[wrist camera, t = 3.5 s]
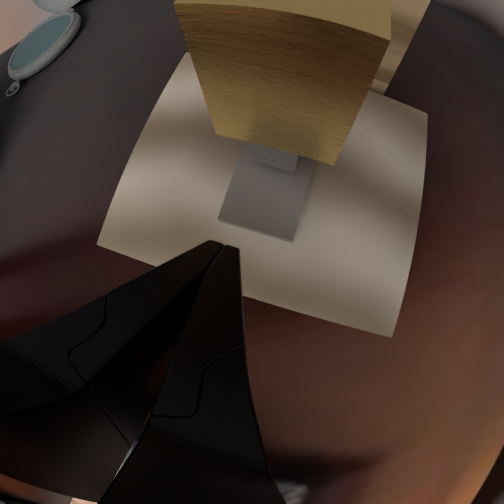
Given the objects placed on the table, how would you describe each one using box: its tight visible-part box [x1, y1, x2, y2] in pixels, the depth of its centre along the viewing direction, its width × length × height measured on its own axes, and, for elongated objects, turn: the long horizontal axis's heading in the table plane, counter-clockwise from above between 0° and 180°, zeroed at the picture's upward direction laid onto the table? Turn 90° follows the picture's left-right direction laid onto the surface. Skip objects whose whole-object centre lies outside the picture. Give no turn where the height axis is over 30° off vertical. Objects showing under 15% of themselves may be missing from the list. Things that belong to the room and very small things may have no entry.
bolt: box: [173, 0, 391, 173], centre depth 10 cm, size 7×5×9 cm
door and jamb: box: [97, 0, 430, 338], centre depth 12 cm, size 19×16×10 cm
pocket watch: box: [6, 0, 81, 96], centre depth 15 cm, size 10×11×15 cm
